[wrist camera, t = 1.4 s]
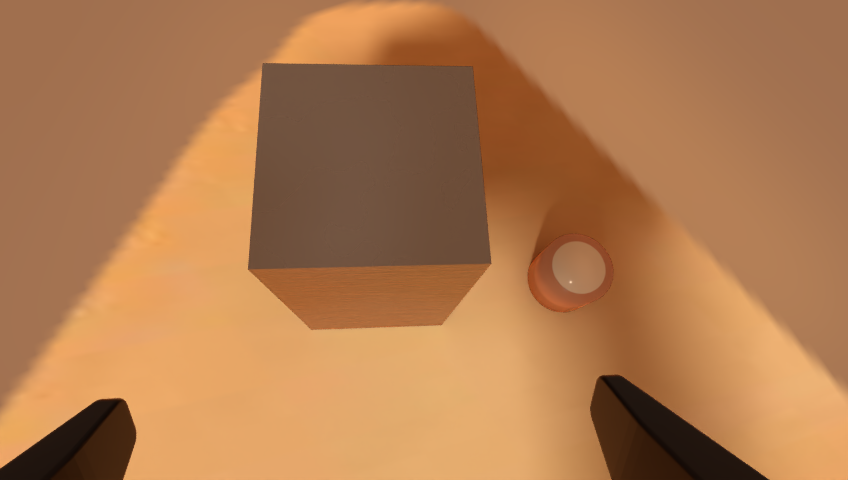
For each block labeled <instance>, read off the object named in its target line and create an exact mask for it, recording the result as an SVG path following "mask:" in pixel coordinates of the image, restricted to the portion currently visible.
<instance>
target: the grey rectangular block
mask: <svg viewBox="0 0 848 480" xmlns="http://www.w3.org/2000/svg"><path fill="white" fill-rule="evenodd" d="M490 265H491V255H490V245H489V234H488V224H487V213H486V202H485V192H484V181H483V171H482V160H481V150H480V139H479V128H478V118H477V107H476V97H475V86H474V75H473V67H471V66H407V65H342V64H278V63H263V66H262V80H261V95H260V109H259V123H258V137H257V151H256V165H255V179H254V193H253V207H252V222H251V236H250V250H249V264H248V270H249V271H250V272H251V273H252V274H253V275H254V276H255V277H257V278H258V279H259V280H260V281H261V282H262V283H263V284H264V285H265V286H266V287H267V288H268V289H269V290H270V291H271V292H272V293H273V294H274V295H275V296H277V297H278V298H279V299H280V300H281V301H282V302H283V303H284V304H285V305H286V306H287V307H288V308H289V309H290V310H291V311H292V312H293V313H294V314H296V315H297V316H298V317H299V318H300V319H301V320H302V321H303V322H304V323H305V324H306V325H307V326H308V327H309V328H310V329H311V330H316V329H344V328H372V327H400V326H428V325H442V324H443V323H444V321H445V320H446V319H447V318H448V316H449V315H450V314H451V313H452V311H453V310H454V309H455V308H456V307H457V305H458V304H459V303H460V302H461V300H462V299H463V298H464V297H465V295H466V294H467V293H468V292H469V291H470V289H471V288H472V287H473V286H474V284H475V283H476V282H477V281H478V279H479V278H480V277H481V276H482V275H483V273H484V272H485V271H486V270H487V268H488V267H489V266H490Z"/></svg>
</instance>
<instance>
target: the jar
mask: <svg viewBox="0 0 848 480" xmlns="http://www.w3.org/2000/svg"><path fill="white" fill-rule="evenodd" d="M612 280H613V266H612V262H611V259H610V257H609V255H608V253H607V252H606V250H605V249H604V248H603V247H602V246H601V245H600V244H599V243H598V242H597V241H595V240H594V239H592V238H590V237H588V236H585V235H581V234H567V235H563V236H560V237H559V238H557V239H555V240H554V241H553V242H552V243H551V244H550V245H549V246H547V247H546V248H545V249H544V250H543V251H542V252H541V253H540V254H539V255H538V256H537V257H536V258H535V259H534V260H533V261H532V263H531V265H530V267H529V271H528V284H529V288H530V290H531V293H532V294H533V296H534V297H535V299H536V300H537V301H538V302H539V303H540V304H541V305H543V306H544V307H546V308H547V309H550V310H552V311H556V312H570V311H573V310H576V309H578V308H580V307H582V306H584V305H587V304H589V303H591V302H593V301H595V300H597V299H599V298H601V297H602V296H603V295H604V294H605V293H606V292H607V291H608V289H609V288H610V286H611V283H612Z"/></svg>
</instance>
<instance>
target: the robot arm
mask: <svg viewBox="0 0 848 480" xmlns="http://www.w3.org/2000/svg"><path fill="white" fill-rule="evenodd" d="M590 411H591V417H592V421H593V424H594V427H595V430H596V433H597V436H598V439H599V442H600V445H601V448H602V451H603V455H604V458H605V461H606V464H607V467H608V470H609V473H610V476H611V479H612V480H769V479H767V478H766V477H765V476H763V475H762V474H760V473H759V472H758V471H756V470H755V469H753V468H752V467H750V466H749V465H748V464H746V463H745V462H743V461H742V460H740V459H739V458H738V457H736V456H735V455H733V454H732V453H731V452H729V451H728V450H726V449H725V448H723V447H722V446H721V445H719V444H718V443H716V442H715V441H713V440H712V439H711V438H709V437H708V436H706V435H705V434H703V433H702V432H701V431H699V430H698V429H696V428H695V427H694V426H692V425H691V424H689V423H688V422H686V421H685V420H684V419H682V418H681V417H679V416H678V415H676V414H675V413H674V412H672V411H671V410H669V409H668V408H667V407H665V406H664V405H662V404H661V403H659V402H658V401H657V400H655V399H654V398H652V397H651V396H649V395H648V394H647V393H645V392H644V391H642V390H641V389H639V388H638V387H637V386H635V385H634V384H632V383H631V382H630V381H628V380H627V379H625V378H624V377H622V376H620V375H602V376H600V377H599V378H598V379H597V381H596V385H595V389H594V393H593V397H592V401H591V406H590ZM135 442H136V428H135V425H134V422H133V419H132V417H131V414H130V411H129V408H128V405H127V403H126V401H125V400H124V399H121V398H113V399H100V400H97V401H95V402H94V403H92V404H91V405H89V406H88V407H87V408H85V409H84V410H82V411H81V412H79V413H78V414H77V415H75V416H74V417H72V418H71V419H70V420H68V421H67V422H65V423H64V424H63V425H61V426H60V427H58V428H57V429H56V430H54V431H53V432H51V433H50V434H48V435H47V436H46V437H44V438H43V439H41V440H40V441H39V442H37V443H36V444H34V445H33V446H32V447H30V448H29V449H27V450H26V451H24V452H23V453H22V454H20V455H19V456H17V457H16V458H15V459H13V460H12V461H10V462H9V463H8V464H6V465H5V466H3V467H2V468H0V480H123V478H124V475H125V472H126V469H127V466H128V463H129V460H130V457H131V454H132V451H133V448H134V445H135Z"/></svg>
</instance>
